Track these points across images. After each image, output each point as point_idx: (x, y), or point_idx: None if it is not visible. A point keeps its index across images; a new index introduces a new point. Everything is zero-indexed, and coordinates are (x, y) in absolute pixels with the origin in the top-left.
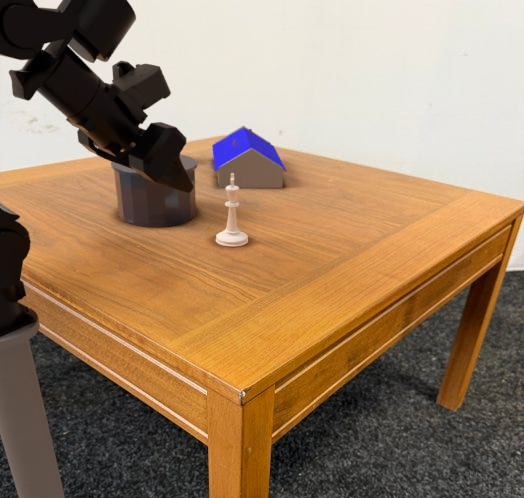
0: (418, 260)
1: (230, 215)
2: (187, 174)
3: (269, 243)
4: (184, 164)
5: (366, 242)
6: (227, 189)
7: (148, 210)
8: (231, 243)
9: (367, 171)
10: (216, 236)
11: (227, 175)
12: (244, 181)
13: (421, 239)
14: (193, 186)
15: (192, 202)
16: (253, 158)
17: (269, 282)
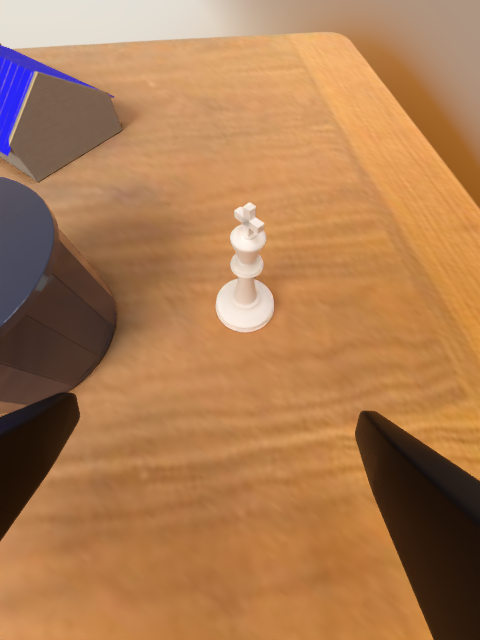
0: (437, 177)
1: (249, 283)
2: (464, 471)
3: (290, 268)
4: (11, 217)
5: (358, 179)
6: (250, 251)
7: (52, 379)
8: (267, 319)
9: (161, 47)
10: (229, 323)
11: (35, 152)
12: (68, 148)
13: (381, 137)
14: (376, 413)
15: (95, 275)
16: (54, 95)
17: (431, 368)
